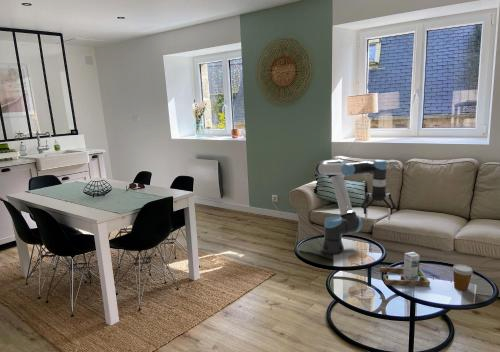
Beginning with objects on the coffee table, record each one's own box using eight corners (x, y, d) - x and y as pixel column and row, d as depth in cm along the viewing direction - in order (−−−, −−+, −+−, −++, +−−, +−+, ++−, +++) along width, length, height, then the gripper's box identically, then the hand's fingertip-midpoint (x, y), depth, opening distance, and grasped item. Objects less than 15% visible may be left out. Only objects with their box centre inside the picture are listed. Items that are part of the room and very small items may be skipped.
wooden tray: (385, 285, 204) (386, 280, 203) (379, 271, 220) (379, 266, 219) (429, 287, 201) (429, 281, 200) (419, 273, 217) (420, 268, 216)
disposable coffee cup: (464, 283, 203) (466, 263, 201) (475, 292, 194) (477, 271, 192) (447, 284, 203) (449, 264, 201) (457, 293, 194) (459, 272, 191)
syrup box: (410, 280, 209) (411, 256, 206) (403, 275, 214) (404, 252, 211) (418, 278, 210) (420, 255, 207) (411, 274, 216) (413, 251, 213)
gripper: (358, 186, 220) (357, 220, 224) (402, 187, 217) (400, 221, 221) (356, 184, 227) (355, 216, 232) (399, 184, 224) (397, 217, 228)
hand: (377, 219), depth 226 cm, fingers open, 13 cm apart
